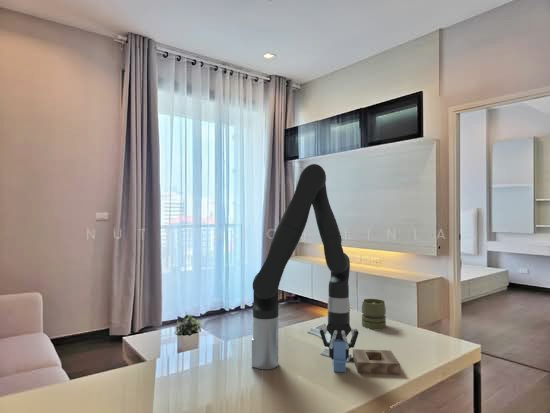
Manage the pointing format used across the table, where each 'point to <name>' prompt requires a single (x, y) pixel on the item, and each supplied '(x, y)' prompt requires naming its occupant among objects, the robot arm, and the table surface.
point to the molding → (316, 332)
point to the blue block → (339, 355)
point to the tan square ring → (376, 361)
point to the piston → (373, 314)
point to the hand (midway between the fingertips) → (338, 358)
